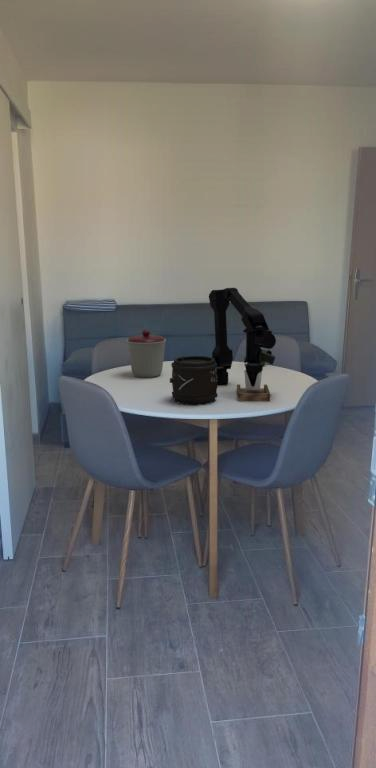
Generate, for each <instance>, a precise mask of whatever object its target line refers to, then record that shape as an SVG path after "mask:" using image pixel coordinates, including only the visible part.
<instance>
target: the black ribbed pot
mask: <svg viewBox="0 0 376 768" xmlns="http://www.w3.org/2000/svg"><path fill="white" fill-rule="evenodd" d="M170 365H171V368H172V371H171V377H170V378H169V384H171V385H172V386H171V387H172V392H171V395H172V399H174V401H175V403H177V402H179V403H178V404H181V403H182V404H181V405H186V404H188V405H189V406H198V404H201V405H207V404H206V403H209V404H211V403H214V402H215V401H216V399H217V397H218V392H217V390H218V385H217V369H216V368H217V367H218V366H217V363H216V362H215V360H214V358H212V356H205V355H185V356H179V357H175V358H174V359H173V362H171V364H170ZM210 402H211V403H210Z"/></svg>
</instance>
